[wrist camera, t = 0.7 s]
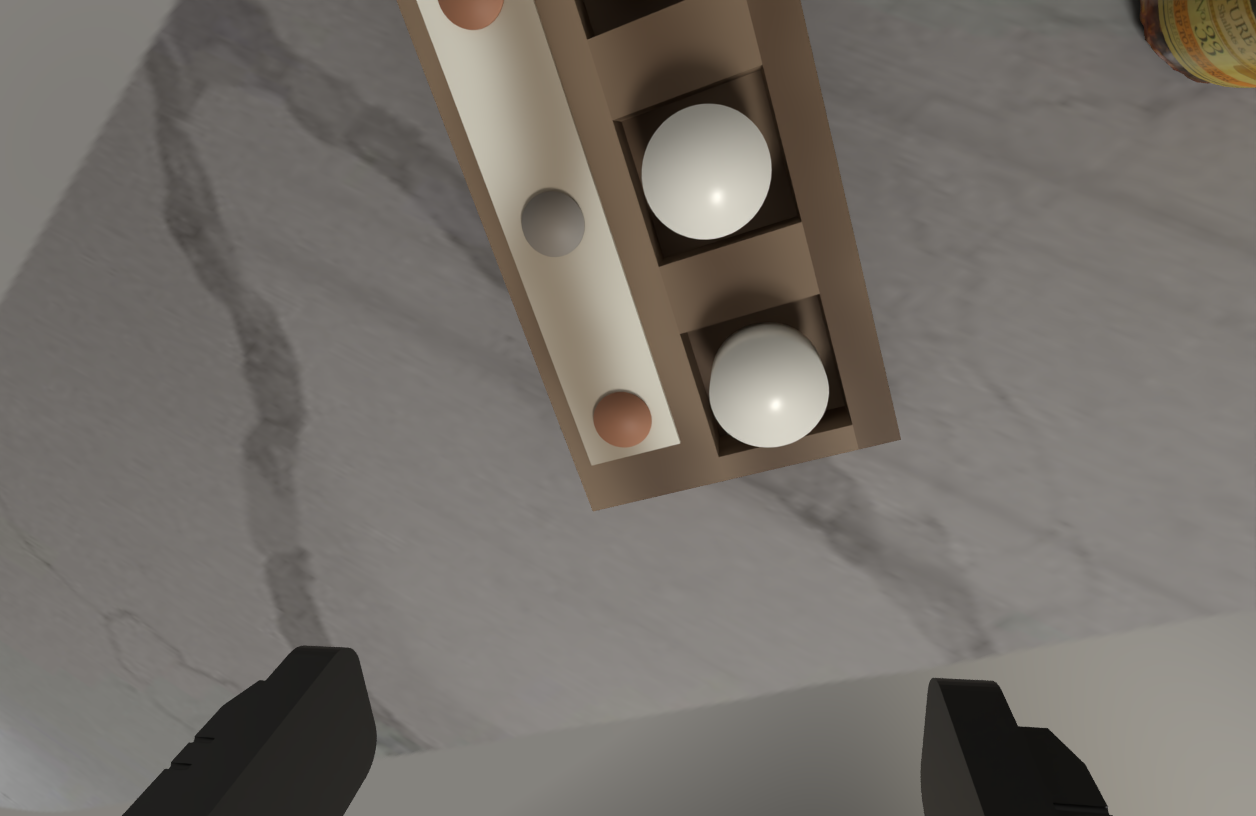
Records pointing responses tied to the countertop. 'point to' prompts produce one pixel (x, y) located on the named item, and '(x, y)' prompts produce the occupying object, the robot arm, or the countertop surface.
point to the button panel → (653, 223)
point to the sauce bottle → (1204, 38)
